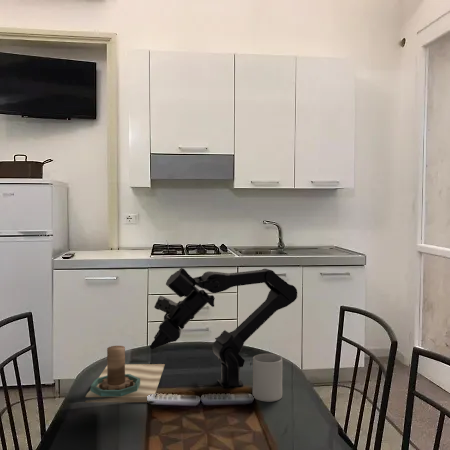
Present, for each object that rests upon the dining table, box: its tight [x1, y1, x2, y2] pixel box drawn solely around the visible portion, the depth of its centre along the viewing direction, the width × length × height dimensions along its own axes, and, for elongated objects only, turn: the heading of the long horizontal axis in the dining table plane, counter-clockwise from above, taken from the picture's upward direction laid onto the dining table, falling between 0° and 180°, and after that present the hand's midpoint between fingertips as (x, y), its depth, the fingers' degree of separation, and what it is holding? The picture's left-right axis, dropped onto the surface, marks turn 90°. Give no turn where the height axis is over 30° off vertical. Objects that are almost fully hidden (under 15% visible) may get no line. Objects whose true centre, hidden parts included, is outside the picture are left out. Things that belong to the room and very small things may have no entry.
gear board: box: [84, 363, 166, 403], centre depth 142 cm, size 27×19×3 cm
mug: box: [251, 353, 283, 403], centre depth 135 cm, size 12×8×11 cm
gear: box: [99, 345, 133, 390], centre depth 136 cm, size 10×10×12 cm
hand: (152, 343), depth 138 cm, fingers open, 9 cm apart
